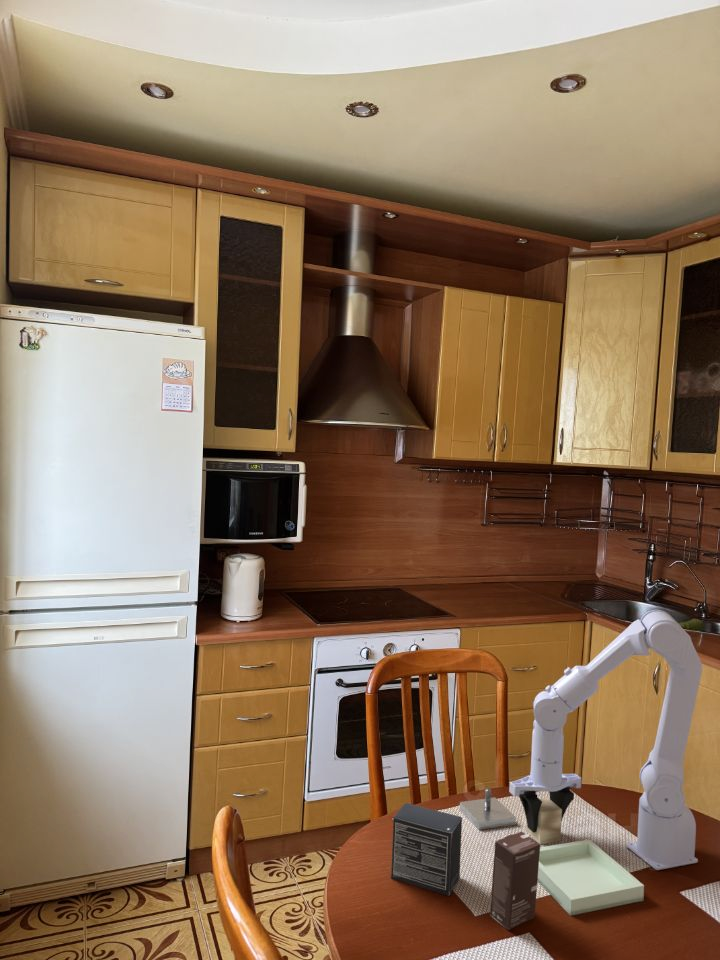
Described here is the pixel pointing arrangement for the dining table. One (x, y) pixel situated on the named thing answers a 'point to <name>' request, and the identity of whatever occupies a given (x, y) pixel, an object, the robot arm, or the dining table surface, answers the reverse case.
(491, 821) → the silver peg base
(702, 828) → the dining table surface
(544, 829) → the birch block
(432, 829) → the small box
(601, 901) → the tray
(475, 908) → the dining table surface
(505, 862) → the box
